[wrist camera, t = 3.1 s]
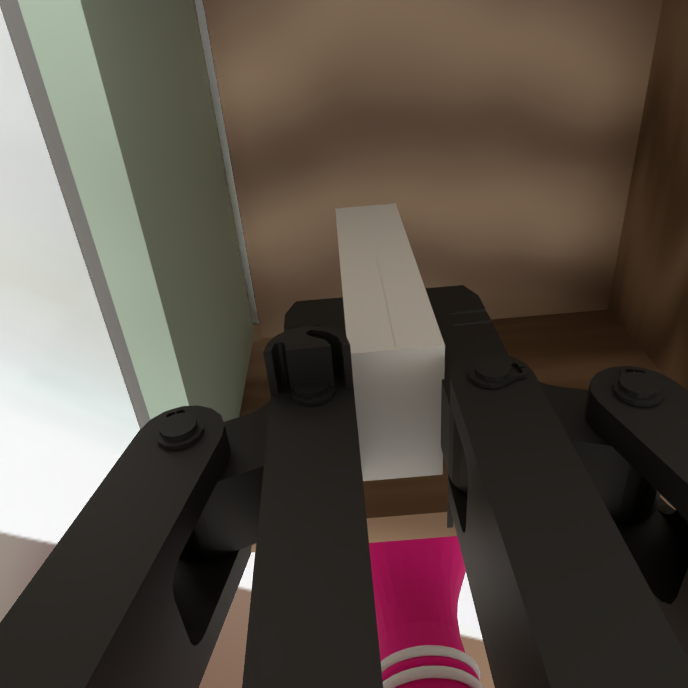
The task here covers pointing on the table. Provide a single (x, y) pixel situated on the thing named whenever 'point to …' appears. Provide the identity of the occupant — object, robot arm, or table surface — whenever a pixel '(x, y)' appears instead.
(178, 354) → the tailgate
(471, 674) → the pepper mill
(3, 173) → the table surface
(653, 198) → the crate
